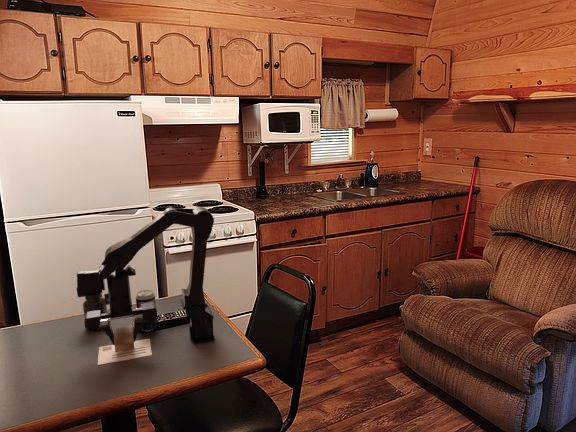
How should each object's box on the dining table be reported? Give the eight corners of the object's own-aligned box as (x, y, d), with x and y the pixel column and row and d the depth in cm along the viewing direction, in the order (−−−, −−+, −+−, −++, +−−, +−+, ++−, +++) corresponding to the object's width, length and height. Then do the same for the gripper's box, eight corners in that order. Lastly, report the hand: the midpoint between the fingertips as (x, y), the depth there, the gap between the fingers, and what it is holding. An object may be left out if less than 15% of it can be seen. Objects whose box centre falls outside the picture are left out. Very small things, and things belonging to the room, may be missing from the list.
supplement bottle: (101, 320, 146) (97, 286, 143) (113, 325, 142) (109, 290, 139) (81, 328, 141) (77, 292, 138) (93, 334, 137) (89, 297, 134)
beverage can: (160, 325, 142) (157, 290, 139) (152, 333, 137) (149, 297, 134) (144, 323, 143) (141, 289, 140) (135, 332, 138) (131, 296, 135)
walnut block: (133, 340, 129) (132, 324, 128) (134, 348, 125) (132, 332, 124) (115, 343, 128) (113, 327, 127) (115, 352, 123) (113, 335, 122)
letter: (149, 338, 134) (149, 338, 134) (151, 355, 124) (151, 354, 124) (99, 347, 129) (99, 346, 129) (97, 365, 120) (97, 364, 120)
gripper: (152, 277, 133) (156, 325, 137) (84, 285, 127) (90, 335, 130) (155, 290, 123) (159, 342, 126) (81, 300, 117) (87, 354, 120)
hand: (124, 342), depth 126 cm, fingers closed on walnut block, 5 cm apart
